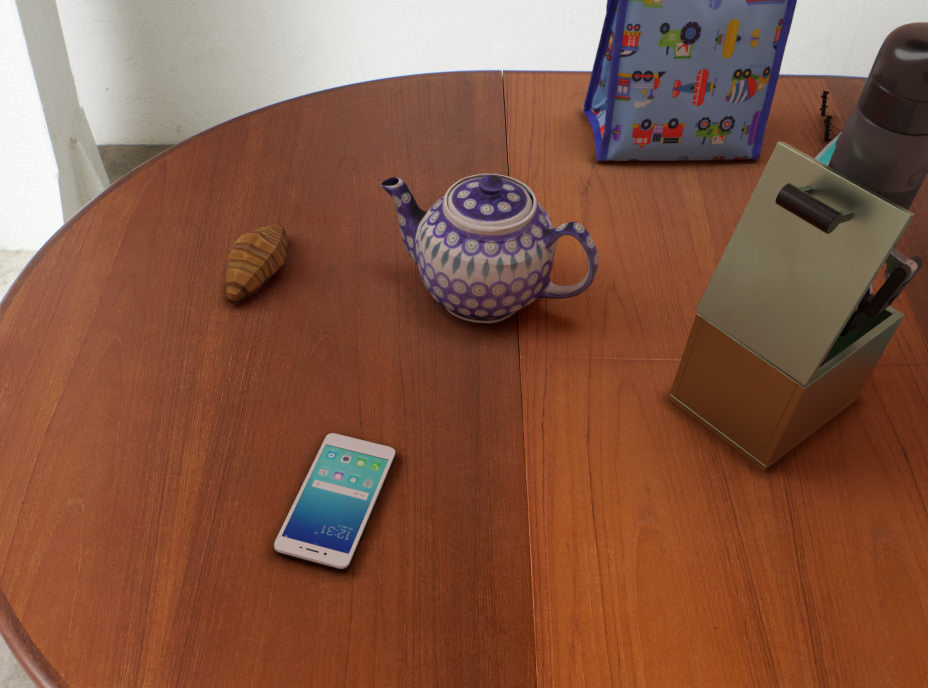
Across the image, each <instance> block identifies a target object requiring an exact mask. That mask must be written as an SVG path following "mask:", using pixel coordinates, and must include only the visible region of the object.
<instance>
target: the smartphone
mask: <svg viewBox="0 0 928 688" xmlns="http://www.w3.org/2000/svg"><path fill="white" fill-rule="evenodd" d="M395 461H396V450H395V449H394V448H393V447H392V446H388V445H384V444H379V443H376V442H371V441H367V440H363V439H359V438H356V437H352V436H347V435H344V434H343V435H342V434H339V433H335V432H331V433H328V434H327V435H326V436H325V438H324V440H323V442H322V444H321V446H320V448H319V449H318V452H317V454H316V456H315V458H314V460H313V462H312V463H311V465H310V466H311V467H310V468H309V470H308V473H307V474H306V476H305V478H304V480H303V483H302V485H301V487H300V489H299V491H298V493H297V495H296V497H295V498H294V502H293V503H292V505H291V507H290V509H289V512H288V514H287V516H286V518H285V520H284V522H283V524H282V526H281V528H280V530H279V531H278V534H277V536H276V538H275V541H274V543H273V550H274V552H275V553H276V554H277V555H279V556H283V557H286V558H291V559H294V560H297V561H302V562H305V563H308V564H312V565H316V566H320V567H323V568H327V569H331V570H334V571H338V572H346V571H348V570H349V568H350V567H351V565H352V563H353V560H354V557H355V556H356V553H357V550H358V548H359V546H360V544H361V542H362V540H363V536H364V534H365V532H366V530H367V528H368V525H369V522H370V520H371V517H372V515H373V513H374V510H375V508H376V505H377V503H378V500H379V499H380V496H381V493H382V491H383V488H384V486H385V485H386V481H387V479H388V476H389V474H390V472H391V469H392V467H393V465H394V462H395Z"/></svg>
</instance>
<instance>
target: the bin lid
mask: <svg viewBox="0 0 928 688" xmlns="http://www.w3.org/2000/svg"><path fill="white" fill-rule="evenodd" d="M814 158H815V157H813V156H811V155H809V154H807V153H805V152H803V151H802V150H800V149H798V148H796V147H794V146H792V145H791V144H788V143H787V142H785V141H784V140H783V141H781V140H780V141H777V143H776V145H775V147H774V149H773V150H772V153H771V155H770V158H769V159H768V161H767V163H766V165H765V168H764V169H763V171H762V174H761V175H760V177H759V179H758V182H757V183H756V186H755V188H754V190H753V192H752V194H751V196H750V198H749V200H748V202H747V203H746V206H745V208H744V210H743V213H742V214H741V216H740V219H739V221H738V223H737V225H736V226H735V228H734V231H733V233H732V234H731V237H730V239H729V240H728V243H727V245H726V247H725V249H724V251H723V253H722V255H721V257H720V260H718V261H719V262H718V263H717V265H716V268H715V269H714V272H713V274H712V276H711V278H710V279H709V282H708V284H707V285H706V288H705V290H704V292H703V294H702V296H701V298H700V300H699V302H698V304H697V306H696V308H695V312H697V313H700V314H701V315H703V316H704V317H706V318H707V319H709V320H710V321H711V322H713V323H714V324H716V325H717V326H719V327H720V328H722V329H723V330H725V331H726V332H727V333H729V334H730V335H732V336H733V337H735V338H736V339H738V340H739V341H740V342H742V343H743V344H745V345H746V346H748V347H749V348H751V349H752V350H754V351H755V352H756V353H758V354H759V355H761V356H762V357H764V358H765V359H767V360H768V361H770V362H771V363H772V364H774V365H775V366H777V367H778V368H780V369H781V370H783V371H784V372H785V373H787V374H788V375H790V376H791V377H793V378H794V379H796V380H797V381H799V382H800V383H801V384H803V385H804V386H805V385H807V384H809V383H810V381H811V380H812V378H813V376H814V375H815V373H816V372H817V370H818V368H819V367H820V365H821V364H822V362H823V360H824V359H825V357H826V356H827V354H828V352H829V351H830V349H831V348H832V346H833V344H834V343H835V341H836V340H837V338H838V336H839V335H840V333H841V332H842V330H843V328H844V327H845V325H846V324H847V322H848V320H849V319H850V317H851V316H852V314H853V312H854V311H855V309H856V308H857V306H858V304H859V303H860V301H861V300H862V298H863V296H864V295H865V293H866V292H867V290H868V288H869V287H870V285H871V284H872V282H873V283H874V280H875V279H876V277H877V276H878V274H879V273H880V271H881V270H882V268H883V266H884V265H885V264H886V262H885V261H886V260H887V258H888V256H889V255H890V253H891V252H892V250H893V248H894V247H895V245H896V246H897V244H898V242H899V240H900V239H901V238H902V236H903V234H904V232H905V231H906V229H907V228H908V226H909V225H910V223H911V221H912V220H913V218H914V217H915V215H916V214H915V213H913V212H911V211H910V210H906V209H904V208H903V207H901V206H899V205H897V204H895V203H894V202H892V201H890V200H888V199H886V198H885V197H883V196H881V195H879V194H877V193H876V192H874V191H872V190H870V189H868V188H866V187H865V186H863V185H861V184H859V183H857V182H856V181H854V180H852V179H850V178H848V177H847V176H845V175H843V174H841V173H839V172H838V171H836V170H834V169H832V168H830V167H828V166H827V165H825V164H823V163H821V162H819V161H818V160H816V159H814Z"/></svg>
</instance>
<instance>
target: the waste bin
mask: <svg viewBox="0 0 928 688" xmlns="http://www.w3.org/2000/svg"><path fill="white" fill-rule="evenodd" d="M904 317H905V314H904V313H902V312H901V311H900V310H898V309H896V308H894V307H893V306H891V305H890V306H889V307H887V308H886V309H885V310H883V311H882V312H881V313H879V314H878V315H876V316H875V317H873V318H870V317H868V316H867V315H866V314H865V313H863V314H862V316H861V318H860V319H859V321H858V323H857V325H856V327H855V329H853V330H852V331H851V332H849V333H848V334H847V335H845V336H844V337H841V336H840V337H838V338H837V340H836V341H835V343H834V344H833V346H832V348H831V352H830V356H829V359H828V361H827V363H825V364H824V365H823V366H821V367H820V368H819V369H818V370H817V372H816V373H815V375H814V376H813V378H812V380H811V381H810V383H809V384H807V385H805V386H804V385H803V384H801V383H800V382H799V381H797V380H796V379H794V378H793V377H791V376H790V375H788V374H787V373H785V372H784V371H783V370H781V369H780V368H778V367H777V366H775V365H774V364H772V363H771V362H770V361H768V360H767V359H765V358H764V357H762V356H761V355H759V354H758V353H756V352H755V351H754V350H752V349H751V348H749V347H748V346H746V345H745V344H743V343H742V342H740V341H739V340H738V339H736V338H735V337H733V336H732V335H730V334H729V333H727V332H726V331H725V330H723V329H722V328H720V327H719V326H717V325H716V324H714V323H713V322H711V321H710V320H709V319H707V318H706V317H704V316H703V315H701V314H700V313H698V312H697V313H696V314H695V318H694V320H693V323H692V325H691V330H690V332H689V335H688V337H687V341H686V343H685V347H684V350H683V353H682V356H681V358H680V361H679V365H678V368H677V370H676V374H675V377H674V380H673V383H672V386H671V389H670V392H669V394H668V398H667V399H668V401H670V402H671V403H672V404H674V406H677V407H678V408H679V409H681V410H682V411H683V412H684V413H686V415H688V416H689V417H691V419H693V420H695V421H697V423H699V424H700V425H701V426H703V427H704V428H705V429H707V430H708V431H709V432H711V433H712V434H714V435H715V436H716V437H717V438H719V439H720V440H721V441H722V442H723V443H724V444H727V446H729V447H730V448H732V449H733V450H734V451H736V452H737V453H738V454H740V455H741V456H742V457H744V458H745V459H746V460H747V461H749V462H750V463H752V465H754V466H756V467H757V468H758V469H760V470H761V471H762V472H765V471H766V470H768V469H769V468H770V467H772V466H773V465H774V464H776V463H777V462H778V461H780V460H781V459H782V458H784V457H785V456H786V455H788V453H790V452H791V451H792V450H794V449H795V448H797V446H799V445H801V443H803V442H804V441H805V440H807V439H808V438H809V437H810V436H812V435H813V434H814V433H817V431H819V429H821V428H822V427H824V426H825V425H827V424H828V423H829V422H830V421H831V420H832V419H834V418H835V417H836V416H838V415H839V414H840V413H842V412H843V411H845V410H846V409H847V408H848V407H850V406H851V405H852V404H853V403H855V402H856V401H857V400H858V398H859V396H860V395H861V393H862V392H863V390H864V388H865V386H866V384H867V382H868V381H869V379H870V377H871V375H872V373H873V372H874V370H875V368H876V367H877V364H878V363H879V361H880V360H881V358H882V356H883V354H884V352H885V351H886V349H887V347H888V345H889V343H890V341H892V338H893V336H894V335H895V333H896V331H897V329H898V328H899V326H900V324H901V322H902V321H903V319H904Z"/></svg>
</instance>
